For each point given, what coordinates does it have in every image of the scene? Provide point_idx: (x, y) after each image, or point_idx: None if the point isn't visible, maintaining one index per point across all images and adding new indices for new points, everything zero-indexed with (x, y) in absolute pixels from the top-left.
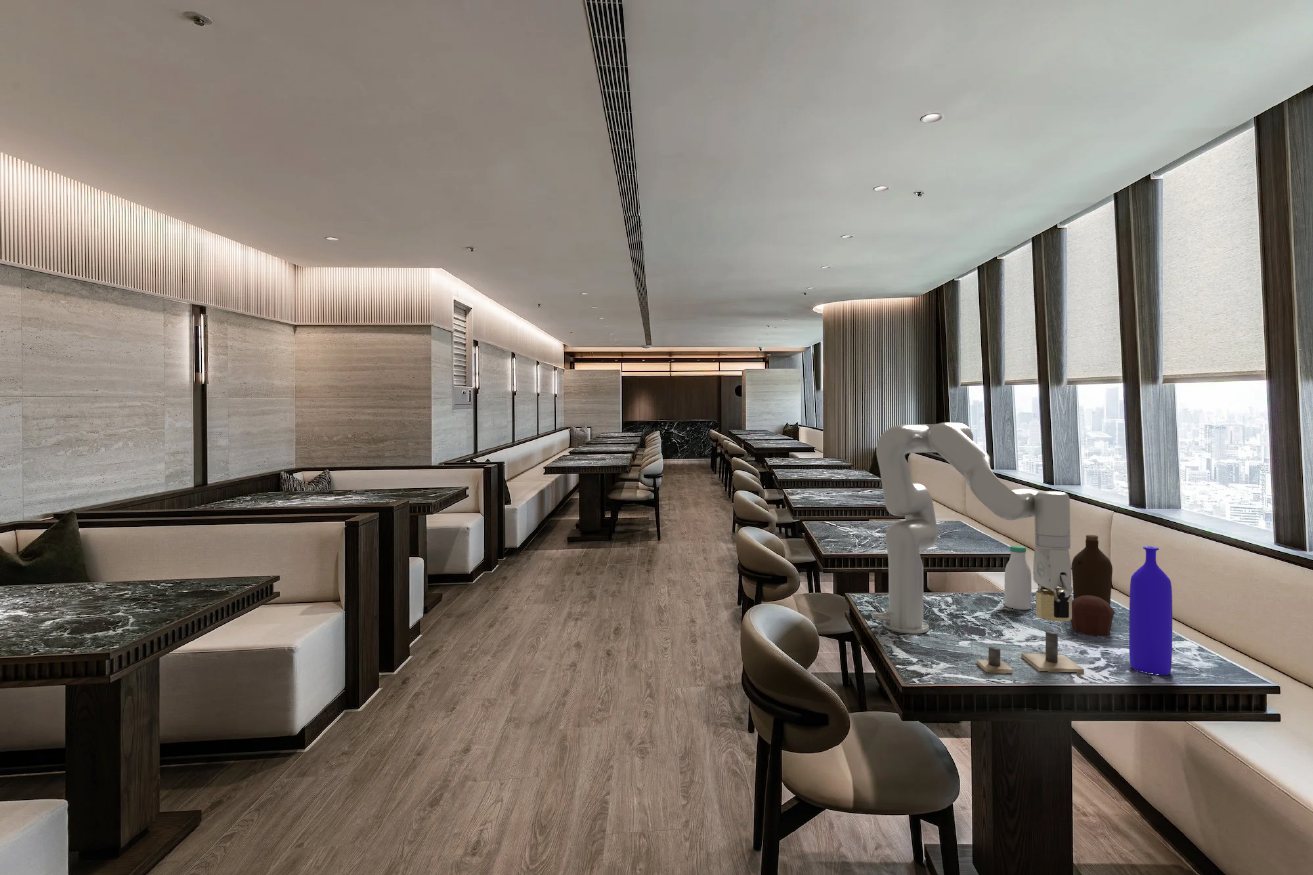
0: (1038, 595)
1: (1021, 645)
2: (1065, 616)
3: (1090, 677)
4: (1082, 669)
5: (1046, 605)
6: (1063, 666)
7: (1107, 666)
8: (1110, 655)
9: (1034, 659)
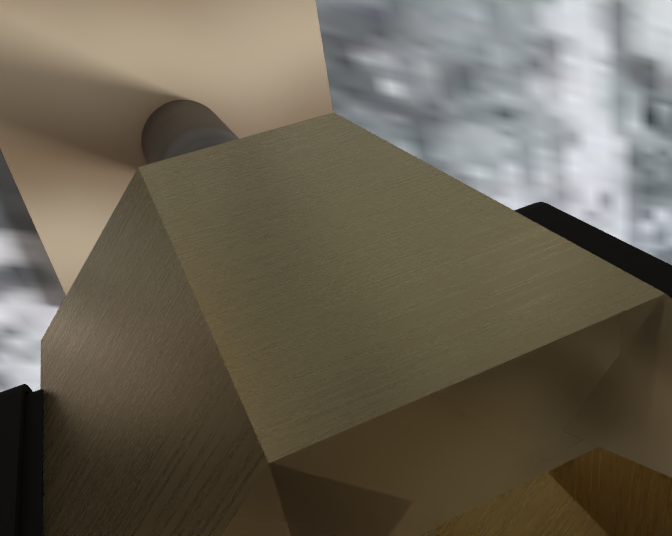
0: (432, 318)
1: (544, 6)
2: None
3: (8, 338)
4: None
5: (118, 377)
6: (79, 205)
7: None
8: None
9: (171, 12)
